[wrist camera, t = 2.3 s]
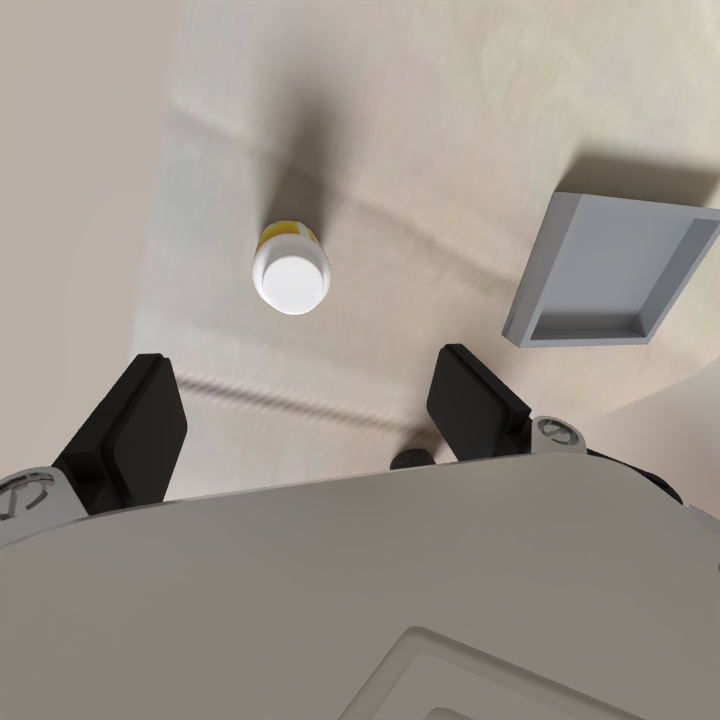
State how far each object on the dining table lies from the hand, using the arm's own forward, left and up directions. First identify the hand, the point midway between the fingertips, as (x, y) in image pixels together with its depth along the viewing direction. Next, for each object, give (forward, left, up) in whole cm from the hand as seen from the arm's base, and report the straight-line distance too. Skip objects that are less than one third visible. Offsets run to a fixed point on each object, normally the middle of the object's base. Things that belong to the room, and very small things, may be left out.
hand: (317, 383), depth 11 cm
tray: (+1, +36, -21) cm, 41 cm away
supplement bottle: (0, 0, -21) cm, 21 cm away
